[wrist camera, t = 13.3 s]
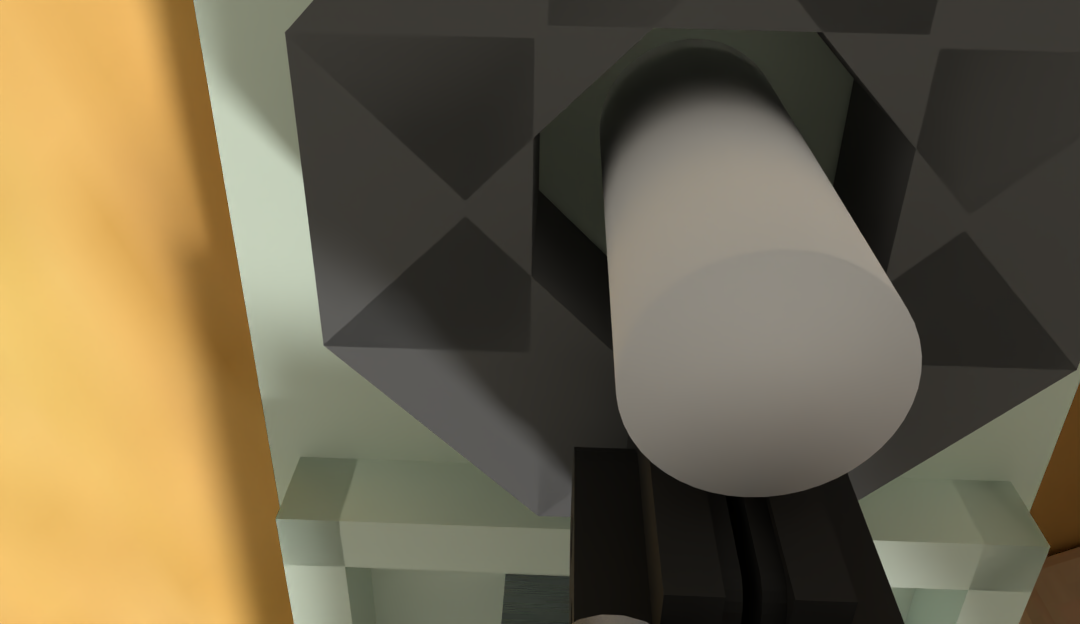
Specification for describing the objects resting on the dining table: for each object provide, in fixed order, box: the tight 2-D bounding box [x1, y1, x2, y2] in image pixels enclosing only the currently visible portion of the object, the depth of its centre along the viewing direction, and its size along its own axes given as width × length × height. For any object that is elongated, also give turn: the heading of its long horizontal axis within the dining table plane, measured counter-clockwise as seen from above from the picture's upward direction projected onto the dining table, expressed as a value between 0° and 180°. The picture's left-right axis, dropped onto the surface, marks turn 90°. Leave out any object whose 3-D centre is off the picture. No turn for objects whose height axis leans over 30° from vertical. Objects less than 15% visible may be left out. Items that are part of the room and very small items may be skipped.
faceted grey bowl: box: [285, 0, 1080, 517], centre depth 11 cm, size 9×9×2 cm
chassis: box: [193, 0, 1080, 624], centre depth 14 cm, size 22×13×8 cm, turn 179°
